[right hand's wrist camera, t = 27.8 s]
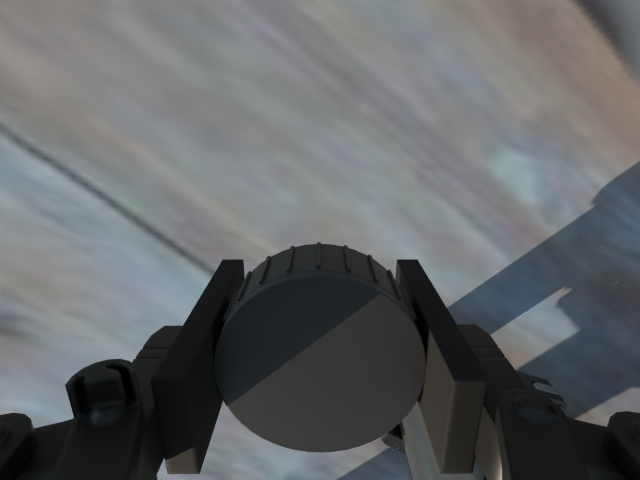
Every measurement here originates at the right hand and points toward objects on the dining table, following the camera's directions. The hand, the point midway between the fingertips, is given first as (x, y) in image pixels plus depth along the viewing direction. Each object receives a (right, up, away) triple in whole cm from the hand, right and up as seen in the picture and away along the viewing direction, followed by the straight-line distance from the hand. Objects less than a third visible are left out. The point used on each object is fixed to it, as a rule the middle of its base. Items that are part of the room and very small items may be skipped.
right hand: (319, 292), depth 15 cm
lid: (0, -1, -4) cm, 4 cm away
